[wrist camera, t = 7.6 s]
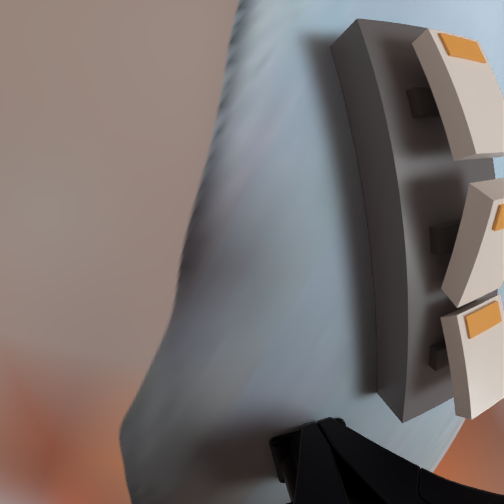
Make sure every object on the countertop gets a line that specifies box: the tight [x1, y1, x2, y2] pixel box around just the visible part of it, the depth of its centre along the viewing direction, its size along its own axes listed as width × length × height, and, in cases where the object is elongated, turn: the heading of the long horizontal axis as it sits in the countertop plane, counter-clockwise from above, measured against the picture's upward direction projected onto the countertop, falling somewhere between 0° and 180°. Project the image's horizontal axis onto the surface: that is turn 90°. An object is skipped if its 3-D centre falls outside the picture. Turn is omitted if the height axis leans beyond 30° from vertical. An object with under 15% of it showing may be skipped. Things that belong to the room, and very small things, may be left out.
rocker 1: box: [412, 28, 504, 161], centre depth 12 cm, size 7×4×2 cm, turn 11°
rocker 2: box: [441, 178, 504, 308], centre depth 14 cm, size 7×4×2 cm, turn 11°
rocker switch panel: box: [330, 19, 498, 423], centre depth 19 cm, size 30×9×5 cm, turn 11°
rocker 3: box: [440, 294, 504, 420], centre depth 16 cm, size 7×4×2 cm, turn 11°
